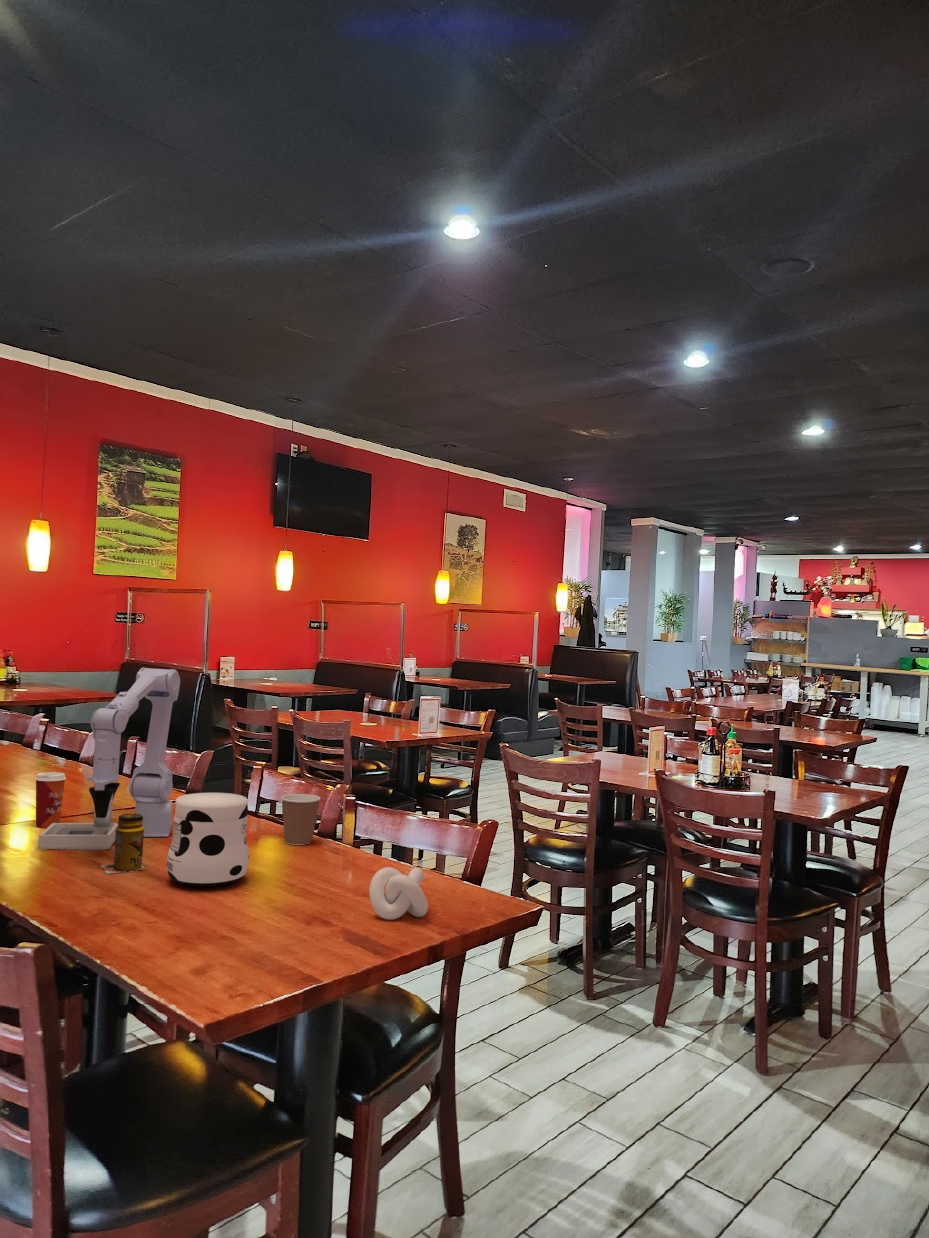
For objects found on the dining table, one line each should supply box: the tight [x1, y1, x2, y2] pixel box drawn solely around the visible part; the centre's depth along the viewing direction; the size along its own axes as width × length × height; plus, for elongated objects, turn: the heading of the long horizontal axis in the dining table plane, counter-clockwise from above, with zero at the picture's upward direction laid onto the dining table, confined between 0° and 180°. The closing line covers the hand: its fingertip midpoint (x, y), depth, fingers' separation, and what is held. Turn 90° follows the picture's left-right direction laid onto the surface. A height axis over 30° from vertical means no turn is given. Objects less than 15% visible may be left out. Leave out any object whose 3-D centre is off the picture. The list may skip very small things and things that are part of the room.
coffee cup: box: [280, 793, 321, 846], centre depth 226 cm, size 10×10×12 cm
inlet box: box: [37, 822, 118, 851], centre depth 214 cm, size 16×14×4 cm
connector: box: [92, 795, 114, 828], centre depth 204 cm, size 4×4×8 cm
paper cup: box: [34, 771, 67, 829], centre depth 231 cm, size 8×8×14 cm
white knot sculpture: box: [369, 866, 429, 921], centre depth 170 cm, size 11×12×9 cm
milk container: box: [166, 792, 250, 888], centre depth 187 cm, size 17×17×18 cm
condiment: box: [100, 813, 147, 875], centre depth 194 cm, size 7×8×12 cm
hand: (102, 815), depth 204 cm, fingers closed on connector, 4 cm apart
